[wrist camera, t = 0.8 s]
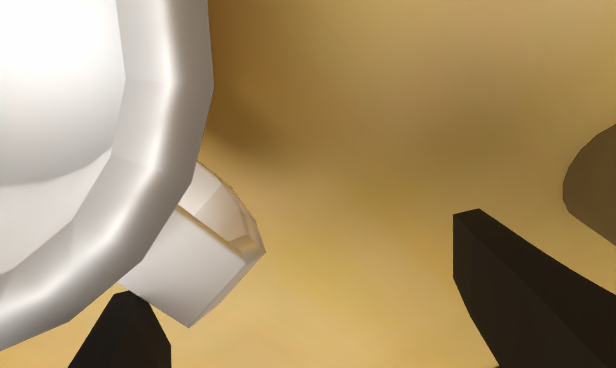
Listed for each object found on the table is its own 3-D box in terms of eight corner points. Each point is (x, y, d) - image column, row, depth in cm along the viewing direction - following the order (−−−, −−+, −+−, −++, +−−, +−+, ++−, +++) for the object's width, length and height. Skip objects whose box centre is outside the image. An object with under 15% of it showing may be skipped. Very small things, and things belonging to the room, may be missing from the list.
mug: (319, 96, 19) (465, 158, 9) (148, 289, 20) (113, 543, 10) (-7, -219, 14) (-432, -794, 4) (-224, 48, 15) (-1039, 70, 5)
